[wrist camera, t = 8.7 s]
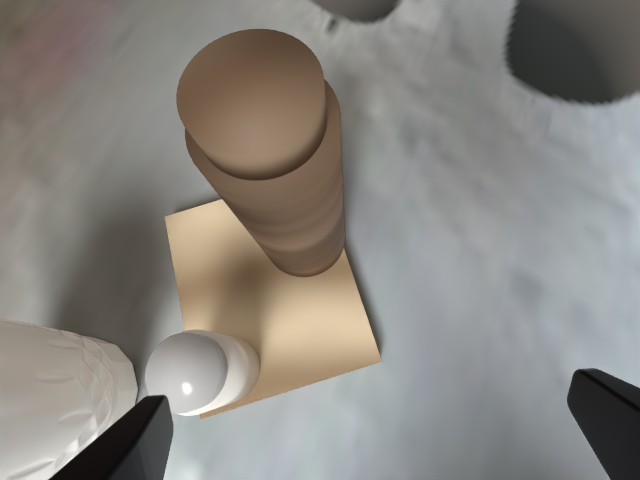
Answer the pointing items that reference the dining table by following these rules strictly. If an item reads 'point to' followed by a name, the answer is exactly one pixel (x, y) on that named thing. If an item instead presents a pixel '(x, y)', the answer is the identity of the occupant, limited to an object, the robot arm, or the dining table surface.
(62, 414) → the white cup
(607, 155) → the dining table surface
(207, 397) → the salt shaker
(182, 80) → the pepper mill
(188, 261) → the board
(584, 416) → the robot arm
